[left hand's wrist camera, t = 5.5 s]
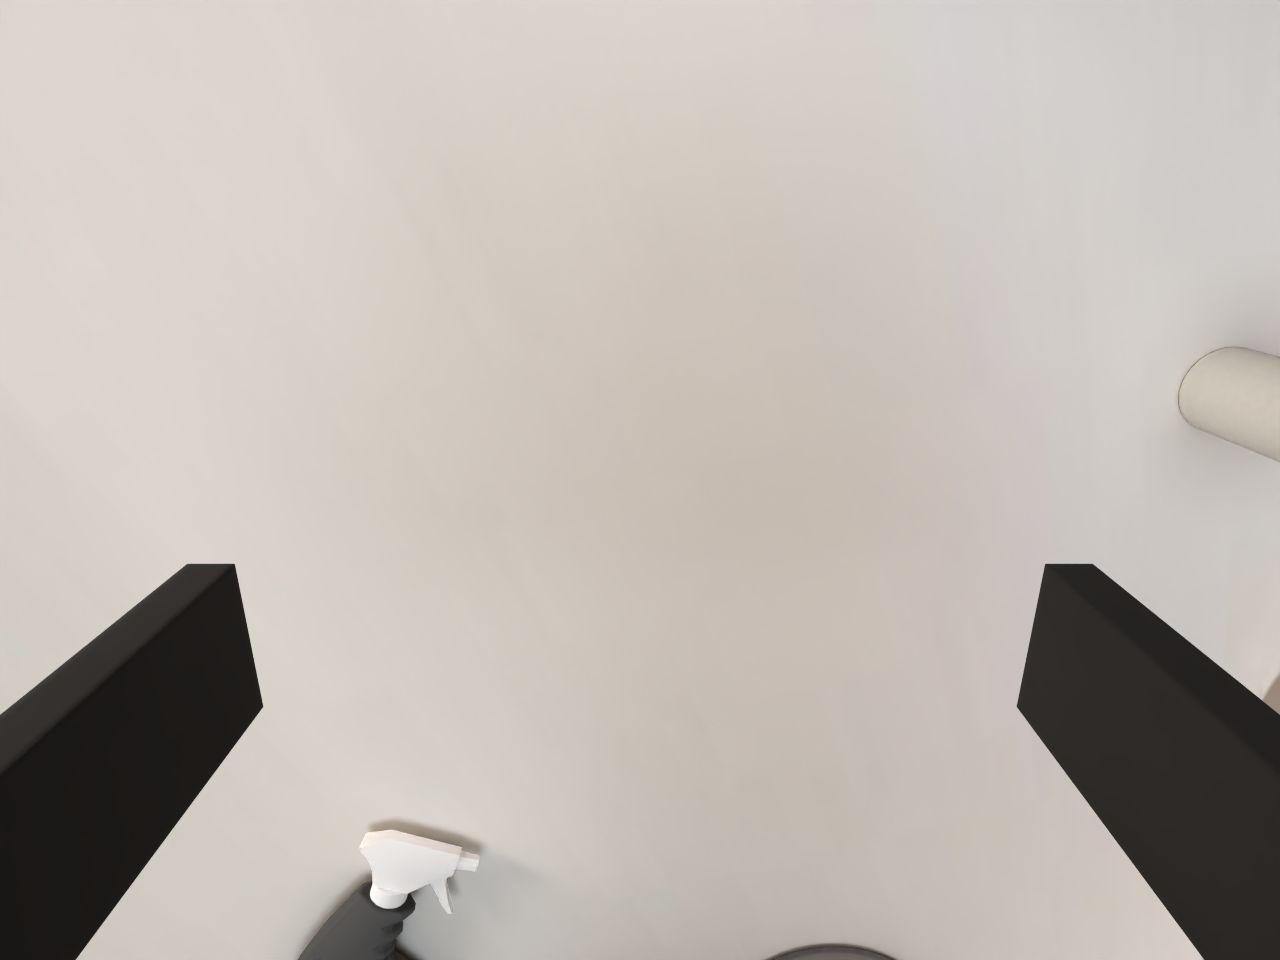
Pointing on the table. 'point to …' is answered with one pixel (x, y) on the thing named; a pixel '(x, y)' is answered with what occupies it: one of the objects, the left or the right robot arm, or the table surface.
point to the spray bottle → (388, 896)
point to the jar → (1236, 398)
